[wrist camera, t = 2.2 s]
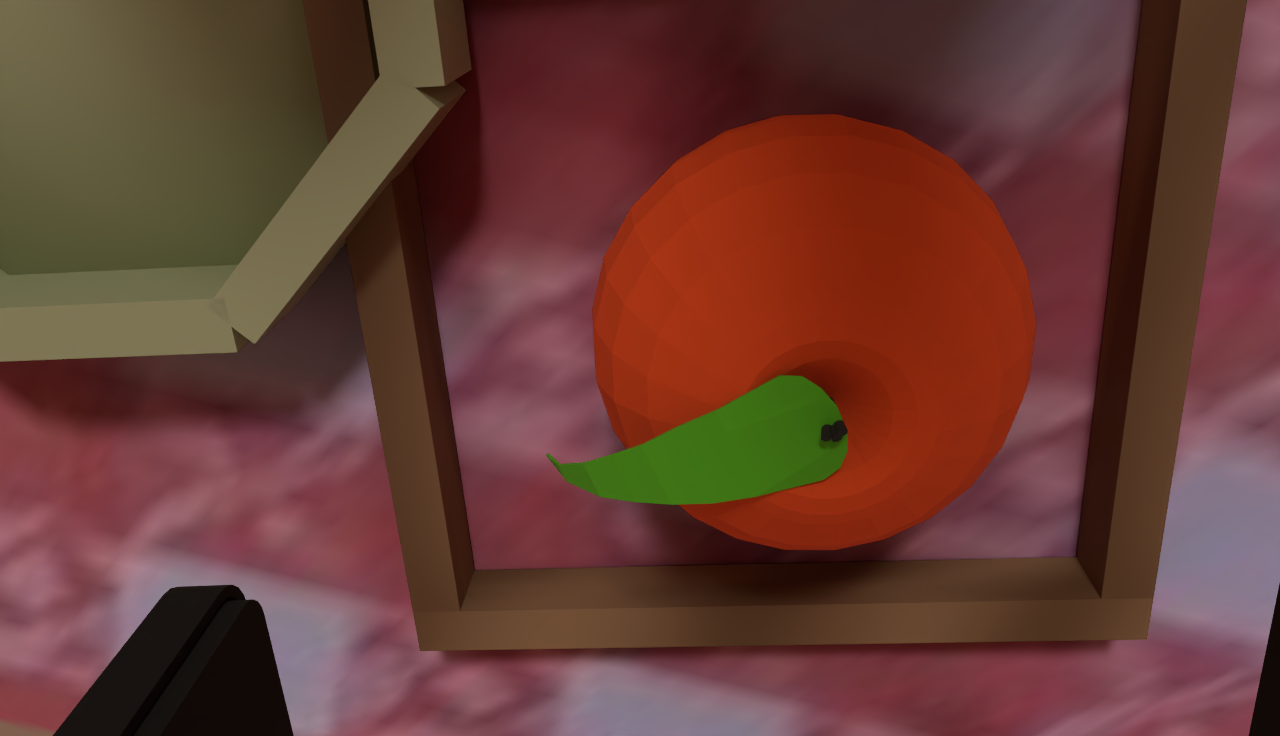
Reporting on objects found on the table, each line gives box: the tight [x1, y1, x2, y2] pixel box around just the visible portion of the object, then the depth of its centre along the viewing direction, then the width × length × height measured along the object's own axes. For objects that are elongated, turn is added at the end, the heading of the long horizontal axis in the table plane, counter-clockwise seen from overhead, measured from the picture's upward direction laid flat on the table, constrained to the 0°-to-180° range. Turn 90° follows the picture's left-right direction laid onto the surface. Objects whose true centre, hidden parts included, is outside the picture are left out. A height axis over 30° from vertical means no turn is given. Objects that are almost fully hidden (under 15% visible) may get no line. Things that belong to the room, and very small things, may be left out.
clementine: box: [546, 114, 1036, 550], centre depth 17 cm, size 8×7×7 cm
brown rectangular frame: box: [302, 0, 1247, 651], centre depth 19 cm, size 15×15×2 cm
